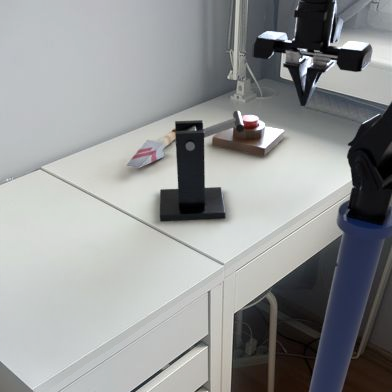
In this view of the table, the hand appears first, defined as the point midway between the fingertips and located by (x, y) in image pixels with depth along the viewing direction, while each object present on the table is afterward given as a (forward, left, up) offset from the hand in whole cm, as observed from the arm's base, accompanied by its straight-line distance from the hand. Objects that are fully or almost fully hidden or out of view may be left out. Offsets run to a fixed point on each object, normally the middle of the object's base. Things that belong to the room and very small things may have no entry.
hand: (303, 105), depth 89 cm
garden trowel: (+28, +6, -12) cm, 31 cm away
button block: (+14, -8, -12) cm, 20 cm away
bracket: (+11, +21, -12) cm, 27 cm away
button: (+14, -8, -9) cm, 18 cm away
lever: (+8, +19, 0) cm, 21 cm away
